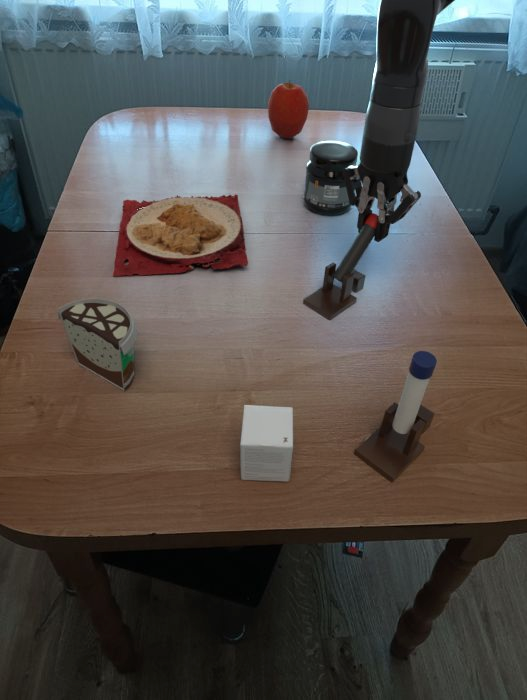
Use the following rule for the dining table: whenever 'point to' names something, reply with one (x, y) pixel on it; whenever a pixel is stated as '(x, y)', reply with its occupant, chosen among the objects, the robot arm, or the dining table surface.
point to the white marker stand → (394, 444)
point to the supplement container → (328, 177)
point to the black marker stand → (335, 293)
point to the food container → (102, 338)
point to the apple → (288, 110)
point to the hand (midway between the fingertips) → (371, 235)
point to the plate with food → (180, 235)
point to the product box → (266, 443)
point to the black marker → (357, 248)
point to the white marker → (414, 390)
